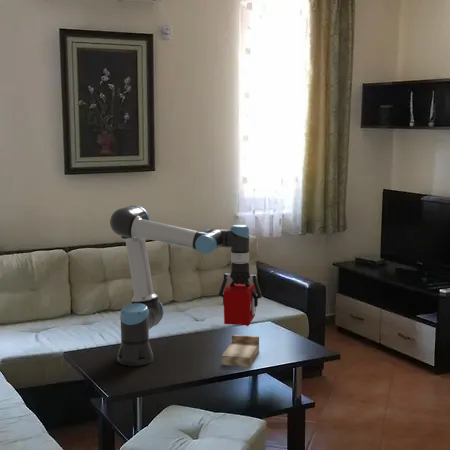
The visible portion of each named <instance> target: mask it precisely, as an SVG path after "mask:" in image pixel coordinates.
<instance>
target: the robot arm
mask: <svg viewBox="0 0 450 450" xmlns="http://www.w3.org/2000/svg"><path fill="white" fill-rule="evenodd" d="M109 225H110V228H111V230H112V232H114V233H115V234H116V235H118V236H120V238H121V240H122V241H123V242H125V245H126V252H127V257H128V258H127V259H128V264H129V271H130V277H131V284H132V290H133V297H132V298H131V300H130V301H131V303H130V304H126V305H125V306H123V307H122V308H121V309H120V315H119V319H120V340H121V341H120V346H119V350H118V352H117V363H118V362H119V363H120V365H121V364H123V365H122V366H125V365H128V366H127V367H139V366H141V367H142V366H145V365H149V364H150V363H153V361H154V353H153V350H152V347H151V344H150V336H149V335H150V333H149V331H150V330H151V329H152V328H154V327H156V326H157V325H158V324H160V322H161V321H162V319H163V317H164V312H165V310H164V306H163V303H162V302H160V300H159V295H158V294H156V293H155V292H154V286H153V281H152V279H153V278H152V273H151V266H150V262H149V261H150V260H149V254H148V249H147V241H146V240H151V241H155V242H159V243H164V244H169V245H174V246H177V247H182V248H186V249H191V250H195V251H198V252H199V253H200V254H202V255H207V254H212V253H213V252H214V251H215V250H217V249H218V248H226V249H227V248H228V249H229V248H230V261H231V262H230V265H231V266H230V268H231V269H230V273H227V272H226V273H224V274H223V279H222V280H223V281H222V283H221V287H220V288H219V292H218V296H219V297H222V305H223V306H224V290H225V288H226V287H227V283H228V280H229V279H231V280H232V281H231V284H230V283H229V284H230V286H233V285H234V284H235V283H236V284H245V286H246V287H250V286H251V285H250V284H251V283H250V281H249V279H251V281H252V282H253V283H252V284H254V286H255V289H256V293H255V291H254V289H252V296H253V299H252V315H254V314H255V315H256V311H255V307H256V308H257V307H258V305H259V301H258V299H261V298H262V297H263V295H262V293H263V292H262V291H261V288H260V285H259V282H258V280H257V279H258V275H257V274H251V273H250V228H249V226H247V225H246V224H234V225H231V226H230V229H219V228H217V229H215V228H207V229H205V230H203V232H202V231H198V230H193V229H189V228H184V227H180V226H175V225H173V224H172V225H171V224H167V223H163V222H162V223H161V222H158V221H157V222H156V221H152V220H150V214H149V212H148V211H147V210H146V208H143V206H141V205H129V206H128V205H127V206H125V207H121V208H118V209H115V211H114V212H112V214H111V217H110V219H109ZM119 363H118V364H119Z"/></svg>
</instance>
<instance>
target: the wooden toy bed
mask: <svg viewBox="0 0 450 450" xmlns="http://www.w3.org/2000/svg"><path fill="white" fill-rule="evenodd" d="M259 353H260V336H256V335H254V336H253V335H242V334H232V335H231V343H230V344H229V345H228V347H227V348H226V350H225V351H224V352H223V353H222V355H221V365H222V366H232V367H244V368H251V366H252V364H253V363H254V361H255V359H256V358H257V356H258V355H259Z"/></svg>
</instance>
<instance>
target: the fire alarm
mask: <svg viewBox="0 0 450 450" xmlns="http://www.w3.org/2000/svg"><path fill="white" fill-rule="evenodd" d="M231 283H232V282H231ZM231 283H228V285H226V286H225V289H224V291H223V293H224V305H223V323H224V325H233V326H234V325H236V326H237V325H238V326H245V327H249V326H250V324H251V322H252V321H253V319H254V318H255V317H256V313H255V314H254V315H252V299H253V296H252V289H254V291H255V293H256V294H257V292H256V289H255V286H254V283H250V285H251V286H250V287H246V286H245V284H236V283H235V284H234V285H233V286H230V284H231ZM256 308H257V307H255V312H256V310H257V309H256Z"/></svg>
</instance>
